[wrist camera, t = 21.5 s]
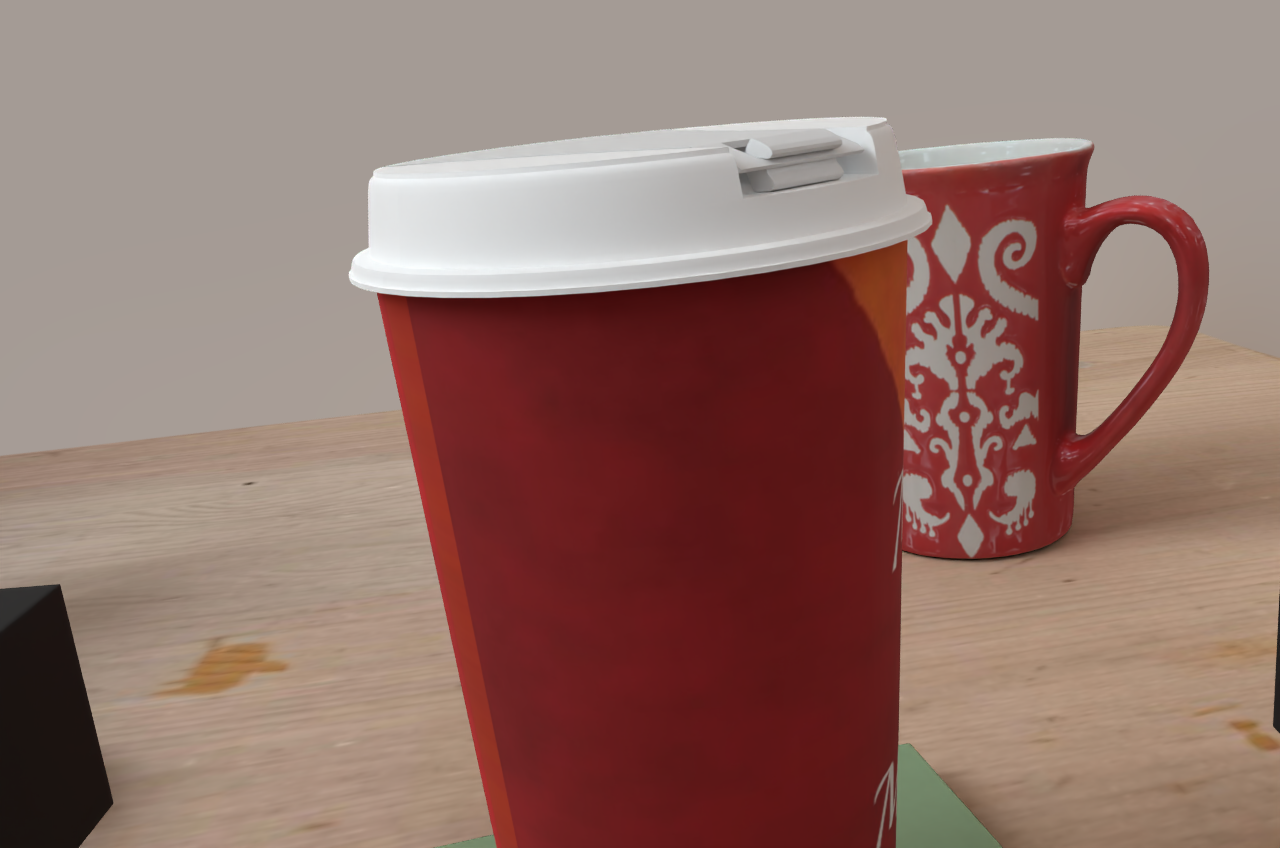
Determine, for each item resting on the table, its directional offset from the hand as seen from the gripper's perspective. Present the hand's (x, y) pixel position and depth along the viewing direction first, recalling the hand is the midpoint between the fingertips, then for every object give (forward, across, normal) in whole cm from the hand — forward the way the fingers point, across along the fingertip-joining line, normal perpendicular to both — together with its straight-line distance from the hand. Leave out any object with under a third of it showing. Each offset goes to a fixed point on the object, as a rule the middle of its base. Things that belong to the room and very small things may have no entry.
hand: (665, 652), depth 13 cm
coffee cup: (+6, 0, -10) cm, 11 cm away
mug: (+29, +11, -11) cm, 33 cm away
